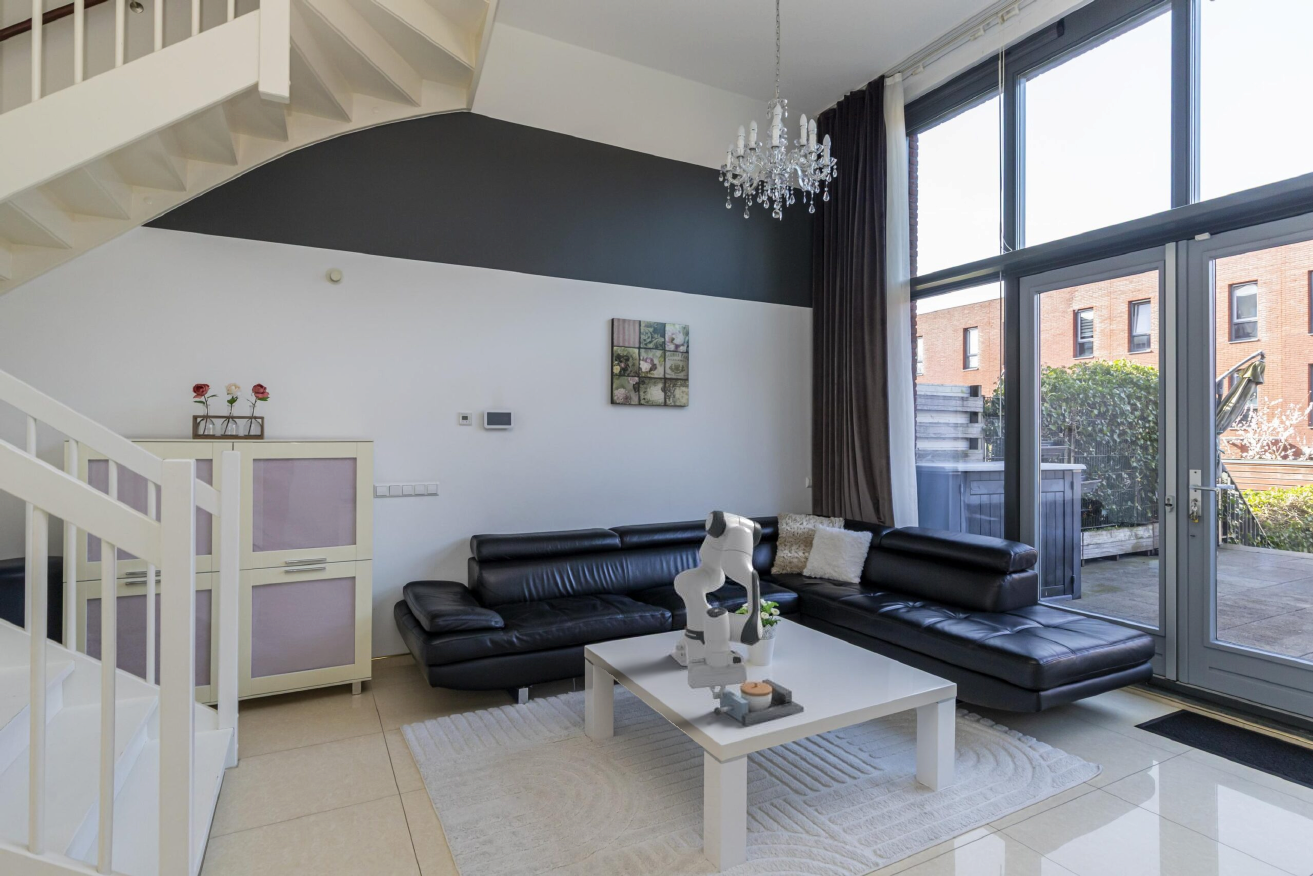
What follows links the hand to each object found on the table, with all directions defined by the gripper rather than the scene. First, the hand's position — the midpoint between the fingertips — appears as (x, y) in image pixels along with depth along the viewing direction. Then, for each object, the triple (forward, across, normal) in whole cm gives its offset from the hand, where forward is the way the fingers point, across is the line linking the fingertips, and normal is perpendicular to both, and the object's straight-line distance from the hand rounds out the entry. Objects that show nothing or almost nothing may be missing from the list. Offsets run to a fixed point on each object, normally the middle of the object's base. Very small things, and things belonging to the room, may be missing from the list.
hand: (717, 698), depth 221 cm
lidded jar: (+5, +14, -1) cm, 15 cm away
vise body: (+5, +15, -2) cm, 16 cm away
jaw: (+5, +1, -4) cm, 6 cm away
